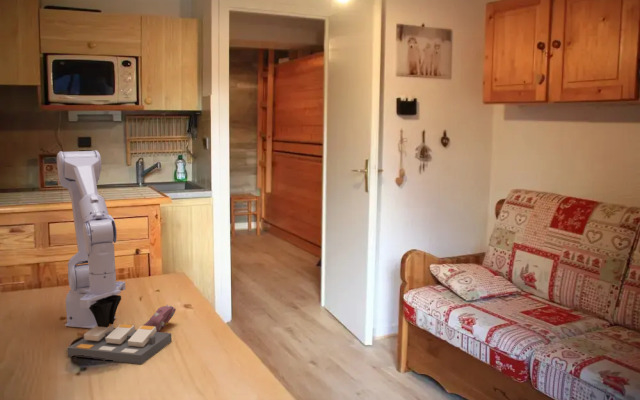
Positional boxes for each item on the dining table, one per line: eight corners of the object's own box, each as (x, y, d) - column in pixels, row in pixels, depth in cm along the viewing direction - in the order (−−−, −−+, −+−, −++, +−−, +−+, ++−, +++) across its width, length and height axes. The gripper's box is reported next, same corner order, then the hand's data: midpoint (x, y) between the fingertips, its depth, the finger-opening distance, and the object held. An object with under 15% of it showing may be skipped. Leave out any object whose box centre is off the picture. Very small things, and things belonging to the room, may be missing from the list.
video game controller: (152, 343, 136) (163, 319, 135) (136, 334, 137) (147, 309, 135) (170, 328, 146) (181, 305, 144) (155, 319, 146) (166, 297, 145)
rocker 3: (128, 345, 125) (127, 340, 125) (142, 329, 131) (141, 325, 130) (143, 347, 125) (142, 342, 124) (156, 331, 130) (155, 326, 129)
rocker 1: (84, 339, 128) (83, 334, 128) (100, 327, 133) (99, 322, 133) (98, 341, 127) (97, 335, 127) (114, 329, 133) (113, 323, 132)
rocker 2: (106, 342, 127) (105, 337, 126) (121, 328, 132) (120, 323, 132) (120, 344, 126) (119, 338, 125) (135, 329, 131) (134, 325, 131)
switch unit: (67, 356, 125) (66, 341, 125) (103, 334, 138) (102, 320, 137) (141, 364, 121) (140, 348, 120) (171, 341, 133) (170, 327, 133)
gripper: (98, 281, 123) (101, 341, 125) (135, 264, 137) (138, 319, 138) (69, 279, 124) (73, 338, 126) (109, 263, 138) (112, 317, 140)
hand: (105, 328), depth 132 cm, fingers closed
